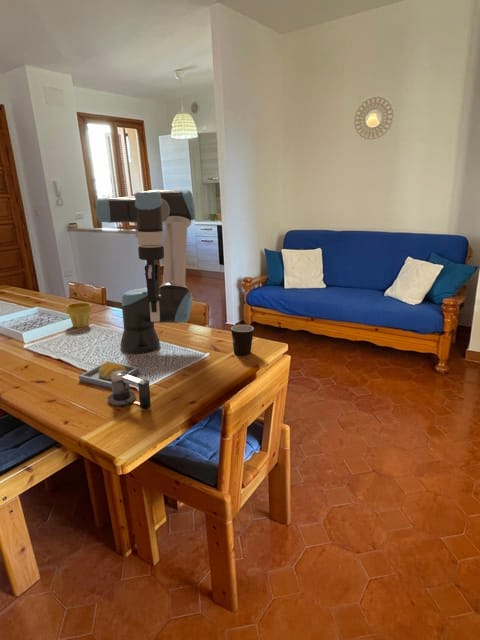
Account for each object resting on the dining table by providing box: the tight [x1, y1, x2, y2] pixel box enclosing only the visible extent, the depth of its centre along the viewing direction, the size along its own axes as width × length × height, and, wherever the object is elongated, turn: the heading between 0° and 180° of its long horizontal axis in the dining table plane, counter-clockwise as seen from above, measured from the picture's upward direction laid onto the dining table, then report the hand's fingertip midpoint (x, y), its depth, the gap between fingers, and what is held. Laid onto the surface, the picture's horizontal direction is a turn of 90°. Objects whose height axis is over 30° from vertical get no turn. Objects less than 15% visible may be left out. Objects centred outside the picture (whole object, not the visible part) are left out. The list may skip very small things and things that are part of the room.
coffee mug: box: [230, 324, 255, 357], centre depth 159 cm, size 12×9×10 cm
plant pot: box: [66, 302, 92, 329], centre depth 189 cm, size 10×10×10 cm
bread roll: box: [98, 362, 126, 380], centre depth 137 cm, size 8×9×4 cm
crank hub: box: [107, 380, 140, 408], centre depth 121 cm, size 12×8×7 cm, turn 66°
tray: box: [78, 360, 140, 390], centre depth 138 cm, size 14×14×2 cm
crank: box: [111, 370, 152, 410], centre depth 119 cm, size 14×5×8 cm, turn 56°
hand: (155, 320), depth 130 cm, fingers closed
